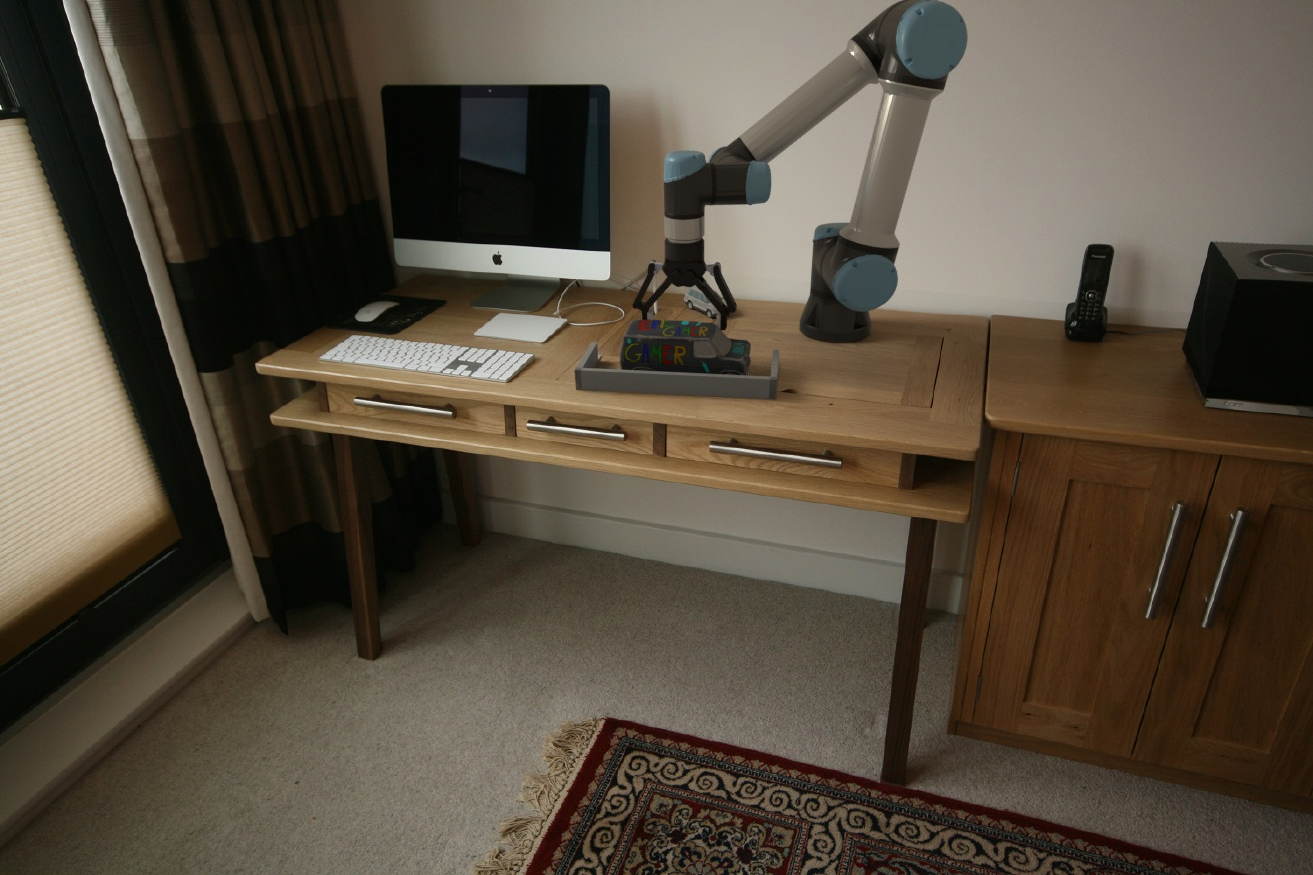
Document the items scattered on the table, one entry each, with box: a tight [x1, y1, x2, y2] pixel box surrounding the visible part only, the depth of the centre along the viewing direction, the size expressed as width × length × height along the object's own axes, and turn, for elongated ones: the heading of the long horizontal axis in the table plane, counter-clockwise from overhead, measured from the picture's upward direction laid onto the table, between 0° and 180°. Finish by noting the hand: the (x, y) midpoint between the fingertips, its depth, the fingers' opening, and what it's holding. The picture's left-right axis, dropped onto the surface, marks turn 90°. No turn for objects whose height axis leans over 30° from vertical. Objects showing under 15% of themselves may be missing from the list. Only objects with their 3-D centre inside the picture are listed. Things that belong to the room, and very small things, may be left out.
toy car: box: [683, 285, 727, 320], centre depth 200 cm, size 6×13×5 cm, turn 33°
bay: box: [574, 341, 780, 401], centre depth 167 cm, size 37×17×4 cm, turn 81°
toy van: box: [619, 319, 752, 376], centre depth 166 cm, size 11×25×10 cm, turn 80°
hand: (684, 343), depth 173 cm, fingers open, 13 cm apart
